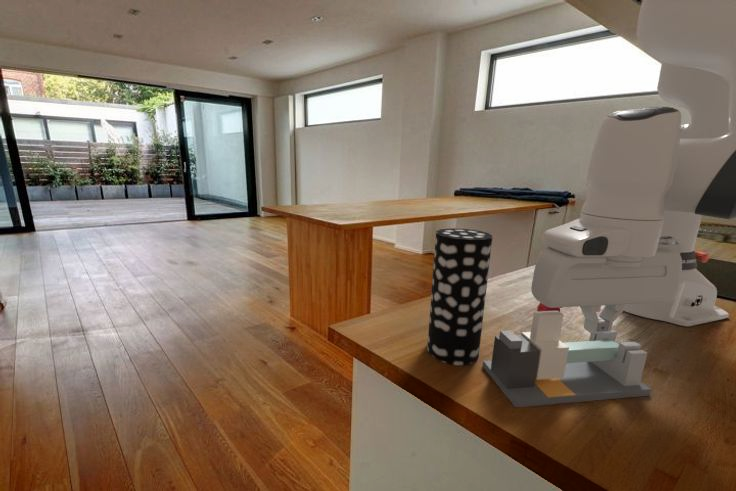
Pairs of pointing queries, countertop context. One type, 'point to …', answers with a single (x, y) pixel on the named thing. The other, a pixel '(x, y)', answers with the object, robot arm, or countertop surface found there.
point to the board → (570, 387)
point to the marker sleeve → (548, 344)
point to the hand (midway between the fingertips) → (596, 330)
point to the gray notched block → (622, 360)
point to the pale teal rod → (591, 351)
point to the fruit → (546, 308)
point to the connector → (514, 360)
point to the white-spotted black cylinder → (458, 294)
